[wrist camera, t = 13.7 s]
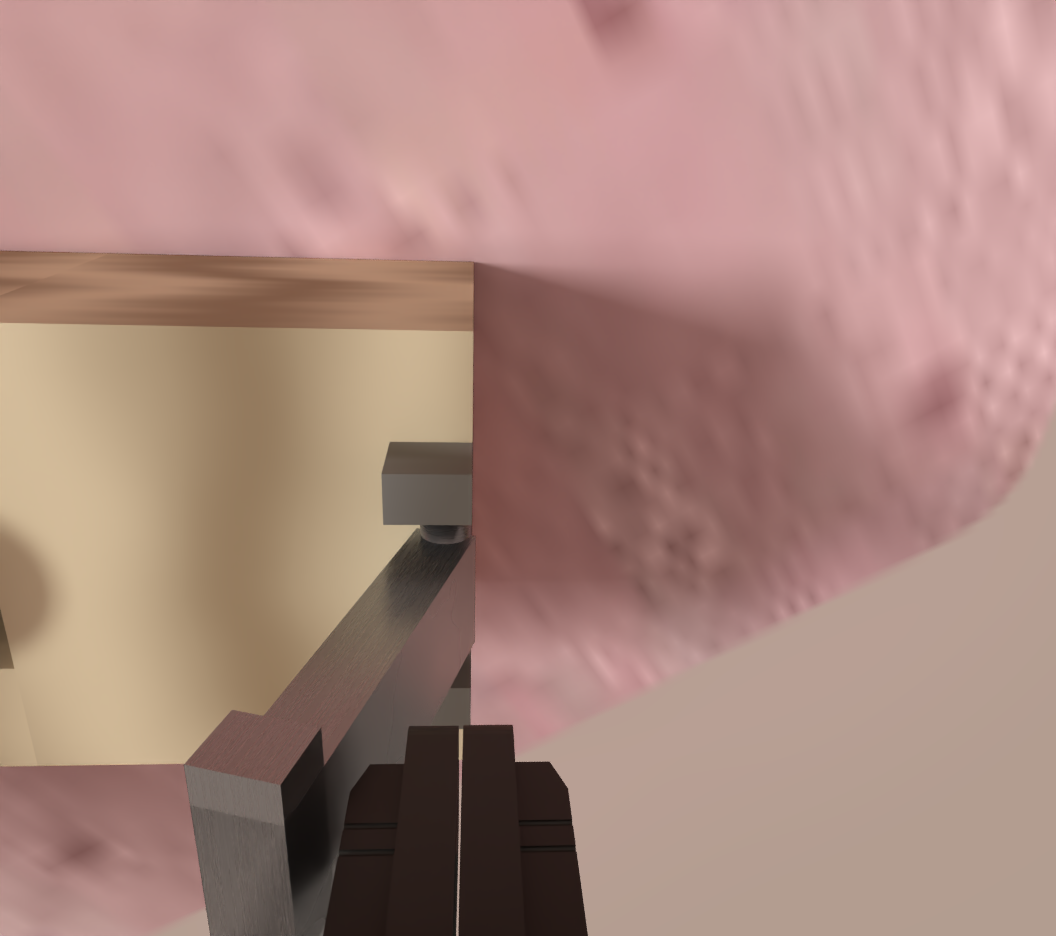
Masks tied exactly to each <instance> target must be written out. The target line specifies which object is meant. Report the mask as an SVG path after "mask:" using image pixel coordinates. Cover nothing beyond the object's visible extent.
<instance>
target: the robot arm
mask: <svg viewBox="0 0 1056 936" xmlns="http://www.w3.org/2000/svg"><path fill="white" fill-rule="evenodd" d="M458 824H459V726H409V728H408V735H407V744H406V753H405V762H404V764H370V765H369V766H368V768H367V769H366V770H365V772H364V773H363V774H362V776H361V777H360V779H359V780H358V781H357V783H356V784H355V785H354V787H353V788H352V789H351V791H350V794H349V799H348V804H347V810H346V815H345V820H344V830H343V831H342V836H341V842H340V847H339V857H338V858H337V863H336V868H335V874H334V879H333V884H332V890H331V895H330V900H329V906H328V911H327V916H326V922H325V927H324V932H323V936H456V916H457V877H458V831H459V830H458V829H459V825H458ZM460 846H461V847H460V890H459V936H588V934H587V926H586V919H585V911H584V904H583V897H582V889H581V882H580V875H579V867H578V860H577V852H576V848H575V846H576V845H575V838H574V830H573V826H572V815H571V808H570V801H569V793H568V788H567V786H566V785H565V783H564V782H563V781H562V779H561V778H560V776H559V775H558V773H557V772H556V770H555V769H554V768H553V766H552V765H551V763H550V762H515V752H514V735H513V725H463V753H462V800H461V845H460Z"/></svg>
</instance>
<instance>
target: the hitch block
mask: <svg viewBox="0 0 1056 936" xmlns="http://www.w3.org/2000/svg"><path fill="white" fill-rule="evenodd" d="M473 307H474V262H452V261H409V260H367V259H324V258H282V257H239V256H197V255H154V254H111V253H69V252H26V251H0V767H4V766H71V765H138V764H185V763H186V761H187V760H188V759H189V758H190V757H191V756H192V755H193V753H194V752H195V751H196V750H197V749H198V748H199V747H200V745H201V744H202V743H203V742H204V741H205V740H206V739H207V738H208V736H209V735H210V734H211V733H212V732H213V731H214V730H215V728H216V727H217V726H218V725H219V724H220V723H221V722H222V720H223V719H224V718H225V717H226V716H227V715H228V714H229V712H230V711H231V710H236V711H242V712H247V713H252V714H257V715H262V716H264V714H265V713H266V712H267V711H268V709H269V708H270V707H271V706H272V705H273V703H274V702H275V701H276V700H277V698H278V697H279V696H280V695H281V694H282V692H283V691H284V690H285V689H286V687H287V686H288V685H289V684H290V683H291V681H292V680H293V679H294V678H295V676H296V675H297V674H298V673H299V672H300V670H301V669H302V668H303V667H304V665H305V664H306V663H307V662H308V661H309V659H310V658H311V657H312V656H313V654H314V653H315V652H316V651H317V650H318V648H319V647H320V646H321V645H322V643H323V642H324V641H325V640H326V639H327V637H328V636H329V635H330V634H331V632H332V631H333V630H334V629H335V628H336V626H337V625H338V624H339V623H340V621H341V620H342V619H343V618H344V617H345V615H346V614H347V613H348V612H349V610H350V609H351V608H352V607H353V606H354V604H355V603H356V602H357V601H358V599H359V598H360V597H361V596H362V594H363V593H364V592H365V591H366V590H367V588H368V587H369V586H370V585H371V583H372V582H373V581H374V580H375V579H376V577H377V576H378V575H379V574H380V572H381V571H382V570H383V569H384V568H385V566H386V565H387V564H388V563H389V561H390V560H391V559H392V558H393V557H394V555H395V554H396V553H397V552H398V550H399V549H400V548H401V547H402V546H403V544H404V543H405V542H406V541H407V539H408V538H409V537H410V536H411V535H412V533H413V532H414V531H415V530H416V528H419V529H420V525H472V441H473ZM470 702H471V652H470V654H469V655H468V656H467V657H466V659H465V661H464V663H463V665H462V667H461V668H460V670H459V672H458V674H457V676H456V678H455V680H454V682H453V684H452V685H451V687H450V689H449V691H448V693H447V695H446V697H445V699H444V701H443V703H442V704H441V706H440V708H439V710H438V712H437V714H436V716H435V718H434V720H433V722H432V723H431V725H430V726H459V760H462V753H463V725H470Z"/></svg>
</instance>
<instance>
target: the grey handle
mask: <svg viewBox="0 0 1056 936" xmlns="http://www.w3.org/2000/svg"><path fill="white" fill-rule="evenodd" d="M475 551H476V536H472V525H420V529H419V528H416V530H415V531H414V532H413V533H412V535H411V536H410V537H409V538H408V539H407V541H406V542H405V543H404V544H403V546H402V547H401V548H400V549H399V550H398V552H397V553H396V554H395V555H394V557H393V558H392V559H391V560H390V561H389V563H388V564H387V565H386V566H385V568H384V569H383V570H382V571H381V572H380V574H379V575H378V576H377V577H376V579H375V580H374V581H373V582H372V583H371V585H370V586H369V587H368V588H367V590H366V591H365V592H364V593H363V594H362V596H361V597H360V598H359V599H358V601H357V602H356V603H355V604H354V606H353V607H352V608H351V609H350V610H349V612H348V613H347V614H346V615H345V617H344V618H343V619H342V620H341V621H340V623H339V624H338V625H337V626H336V628H335V629H334V630H333V631H332V632H331V634H330V635H329V636H328V637H327V639H326V640H325V641H324V642H323V643H322V645H321V646H320V647H319V648H318V650H317V651H316V652H315V653H314V654H313V656H312V657H311V658H310V659H309V661H308V662H307V663H306V664H305V665H304V667H303V668H302V669H301V670H300V672H299V673H298V674H297V675H296V676H295V678H294V679H293V680H292V681H291V683H290V684H289V685H288V686H287V687H286V689H285V690H284V691H283V692H282V694H281V695H280V696H279V697H278V698H277V700H276V701H275V702H274V703H273V705H272V706H271V707H270V708H269V709H268V711H267V712H266V713H265V714H264V716H262V715H257V714H252V713H247V712H242V711H236V710H231V711H230V712H229V714H228V715H227V716H226V717H225V718H224V719H223V720H222V722H221V723H220V724H219V725H218V726H217V727H216V728H215V730H214V731H213V732H212V733H211V734H210V735H209V736H208V738H207V739H206V740H205V741H204V742H203V743H202V744H201V745H200V747H199V748H198V749H197V750H196V751H195V752H194V753H193V755H192V756H191V757H190V758H189V759H188V760H187V761H186V763H185V764H184V769H185V775H186V782H187V788H188V795H189V801H190V808H191V814H192V820H193V827H194V833H195V840H196V846H197V853H198V859H199V866H200V872H201V878H202V885H203V891H204V898H205V904H206V911H207V917H208V924H209V930H210V936H323V932H324V927H325V922H326V916H327V911H328V906H329V900H330V895H331V890H332V884H333V879H334V874H335V868H336V863H337V858H338V857H339V847H340V842H341V836H342V831H343V830H344V820H345V815H346V810H347V804H348V799H349V794H350V791H351V789H352V788H353V787H354V785H355V784H356V783H357V781H358V780H359V779H360V777H361V776H362V774H363V773H364V772H365V770H366V769H367V768H368V766H369V765H370V764H404V762H405V753H406V744H407V735H408V728H409V726H430V725H431V723H432V722H433V720H434V718H435V716H436V714H437V712H438V710H439V708H440V706H441V704H442V703H443V701H444V699H445V697H446V695H447V693H448V691H449V689H450V687H451V685H452V684H453V682H454V680H455V678H456V676H457V674H458V672H459V670H460V668H461V667H462V665H463V663H464V661H465V659H466V657H467V656H468V655H469V654H470V652H471V648H472V646H473V644H474V642H475Z"/></svg>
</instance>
